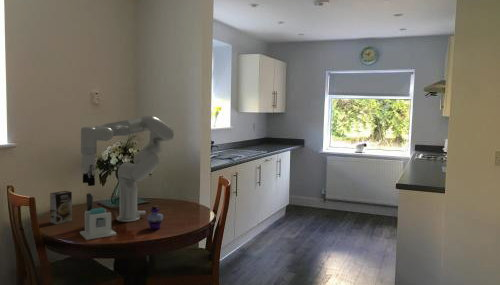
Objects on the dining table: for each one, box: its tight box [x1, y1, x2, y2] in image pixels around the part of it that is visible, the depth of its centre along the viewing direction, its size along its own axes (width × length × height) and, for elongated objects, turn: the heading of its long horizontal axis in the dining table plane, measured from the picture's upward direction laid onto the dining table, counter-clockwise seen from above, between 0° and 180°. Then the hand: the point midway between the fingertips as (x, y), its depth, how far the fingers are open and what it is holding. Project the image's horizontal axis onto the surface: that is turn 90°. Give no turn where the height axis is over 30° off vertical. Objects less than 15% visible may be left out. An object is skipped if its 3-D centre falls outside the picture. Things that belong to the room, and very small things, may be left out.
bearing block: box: [79, 208, 117, 241], centre depth 198 cm, size 14×12×11 cm
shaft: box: [86, 192, 105, 226], centre depth 202 cm, size 3×22×12 cm, turn 36°
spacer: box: [91, 207, 106, 218], centre depth 198 cm, size 6×4×4 cm
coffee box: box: [49, 190, 73, 225], centre depth 219 cm, size 9×6×16 cm
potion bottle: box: [146, 205, 164, 231], centre depth 209 cm, size 9×9×12 cm
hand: (88, 184), depth 208 cm, fingers open, 9 cm apart
